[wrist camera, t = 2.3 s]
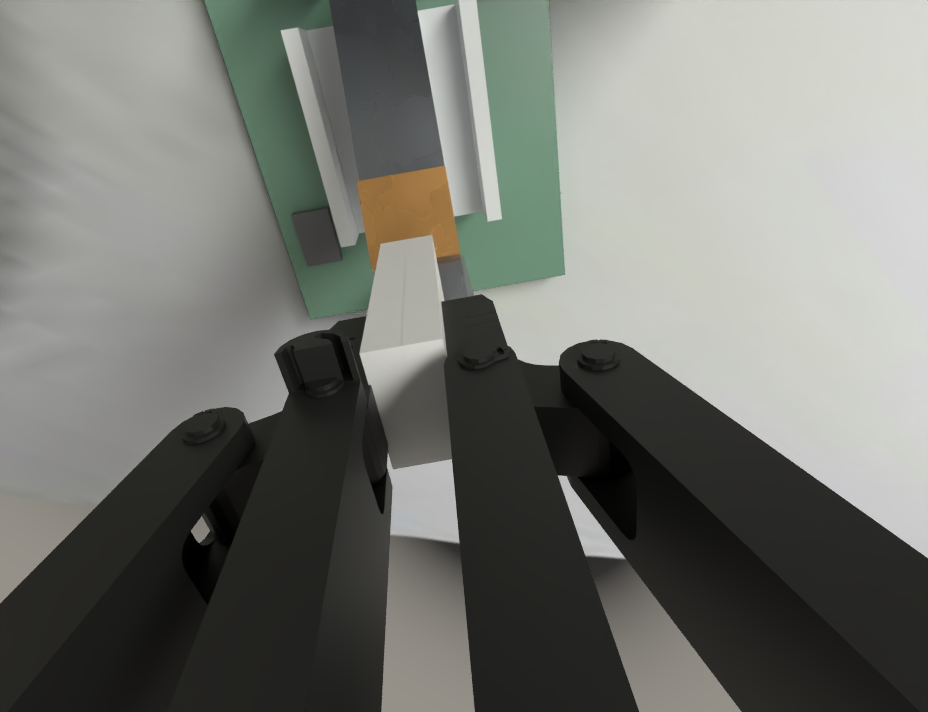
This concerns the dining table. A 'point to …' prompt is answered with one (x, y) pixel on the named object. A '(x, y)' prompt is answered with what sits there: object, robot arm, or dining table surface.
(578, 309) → the dining table surface
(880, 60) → the dining table surface
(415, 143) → the strap
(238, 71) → the board
